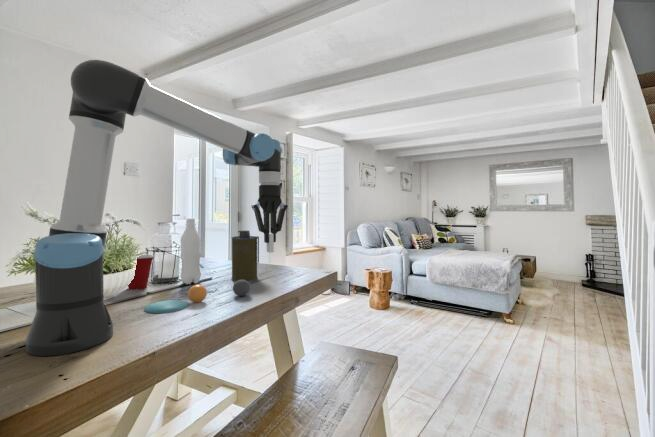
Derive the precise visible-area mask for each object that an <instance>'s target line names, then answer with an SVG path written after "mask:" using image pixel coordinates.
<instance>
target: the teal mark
mask: <svg viewBox="0 0 655 437" xmlns="http://www.w3.org/2000/svg"><path fill="white" fill-rule="evenodd" d="M189 306H190V303H189V302H188V301H186V300H183V299H182V300H181V299H180V300H179V299H174V300H173V299H171V300H170V299H169V300H163V301H162V300H161V301H158V302H153V303H151V304H148V305H146V306H144V308H143V311H144V312H145V313H149V314H169V313H174V312H179V311H182V310H184V309H187V308H188V307H189Z"/></svg>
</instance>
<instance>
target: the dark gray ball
mask: <svg viewBox="0 0 655 437" xmlns="http://www.w3.org/2000/svg"><path fill="white" fill-rule="evenodd" d="M234 282H235V283H234V284H233V286H232V290H233V291H232V292H233V293H234V295H236V296H238V297H244V296H246V295H247V294H248V293H249V292H250V290H251V286H250V284H249V282H247V281H246V280H238V281H234Z"/></svg>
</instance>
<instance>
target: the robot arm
mask: <svg viewBox="0 0 655 437" xmlns="http://www.w3.org/2000/svg"><path fill="white" fill-rule="evenodd" d="M70 76H71V77H70V86H71V89H72V90H71V91H72V95H71V96H72V97H71V101H70V102H71V103H70V109H69V113H68V114H69V115H68V120H69V121H70V122H71V123H72V125H74V132H73V136H72V137H73V139H72V143H71V150H70V156H69V162H68V168H67V174H66V180H65V185H64V191H63V198H62V204H61V210H60V216H59V220H58V221H57V222H56V223H55V222H54V224H52V225H50V228H49V233H48V235H47V236H44V237H41V238H40V239H38V240H37V241H36V243H35V246H34V251H33V258H34V263H35V267H34V268H35V269H34V270H35V271H34V273H35V304H36V306H35V307H36V309H35V310H36V312H35V315H34V317H33V319H32V322H31V326H30V328H29V330H28V334H27V335H26V338H25V352H26V353H27V354H29V355H32V356H37V357H38V356H41V357H45V356H46V357H49V356H58V355H65V354H70V353H71V354H72V353H75V352H79V351H83V350H86V349H90V348H93V347H95V346H98V345H100V344H102V343H104V342H106V341H107V340H109V339H110V338H111V337H112V336H113V335H114V324H113V321H112V318H111V316H110V313H109V311H108V309H107V306H106V305H105V300H104V255H105V248H106V240H107V233H108V231H107V230H106V228H104V226H103V225H102V222H103V216H104V209H105V203H106V198H107V190H108V185H109V178H110V172H111V168H112V161H113V155H114V154H113V153H114V148H115V147H114V146H115V142H116V141H115V140H116V137H117V136H119V135H120V134H122V133H124V129H125V124H126V123H125V122H126V116H127V115H130V116H131V117H137V116H142V117H145V118H147V119H150V120H153V121H155V122H157V123H159V124H162V125H164V126H167V127H170V128H173V129H175V130H176V131H179V132H182V133H184V134H187V135H189V136H192V137H194V138H196V139H199V140H202V141H203V142H207V143H209V144H211V145H213V146H217V147H219V148H220V149H222V159H223V163H224V164H226V165H230V166H231V165H233V166H242V167H243V166H245V167H256V168H258V184H260V185H259V186H258V199H257V202H256V203H254V204H251V207H250V208H252V210H253V212H254V216H255V220H256V224H257V229H258V231H259V232H261V233H263V242H264V243H266V253H274V251H275V250H274V243H276V242H277V233H278V232H281V231H282V229H283V228H282V226H283V223H284V218H285V212H286V210H287V209H288V207H289V205H288V204H286V203H283V201H282V198H281V195H282V189H281V188H282V186H281V185H280V184H281V181H282V176H281V175H282V173H281V172H282V171H281V169H282V168H281V162H282V161H281V159H282V151H281V150H282V148H281V143H280V141H279V140H277V139H275V138H272V137H271V136H270V135H269V134H267V133H264V132H263V133H260V132H259V133H254V132H252V131H250V130H248V129H245V128H243V127H241V126H239V125H236V124H234V123H232V122H230V121H228V120H226V119H224V118H221V117H219V116H217V115H215V114H213V113H211V112H210V111H209V112H208V111H207V110H205V109H202V108H200V107H198V106H196V105H193V104H192V103H189V102H187V101H185V100H183V99H181V98H178V97H176V96H174V95H172V94H170V93H168V92H166V91H164V90H162V89H160V88H157V87H155V86H153V85H151V83H150V81H149V80H148V78H146V77H144V76H142V75H140V74H138V73H135V72H133V71H131V70H129V69H127V68H125V67H123V66H121V65H118V64H115V63H112V62H110V61H106V60H103V59H102V60H101V59H90V60H89V59H88V60H85V61H83V62H80V63H79V64H78V65H76V66H75V68H73V70H72V72H71V75H70ZM261 209H262V213H261ZM278 209H279V210H278ZM277 213H278V214H277ZM262 214H263V218H262Z"/></svg>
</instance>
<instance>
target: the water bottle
mask: <svg viewBox="0 0 655 437" xmlns="http://www.w3.org/2000/svg"><path fill="white" fill-rule="evenodd" d="M201 241H202V240H201V236H200V234H199V232H198V230H197V229H196V219H195V218H186V223H185V230H184V232H182V235H181V237H180V259H181V272H180V280H181V283H182V284H184V283H185V285H188V284H189V285H191V284H192V283H193V284H194V285H197V284H198V283H199V282H200V279H201V277H202V272H201V267H200V261H201V257H202V256H201V255H202V254H201Z"/></svg>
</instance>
